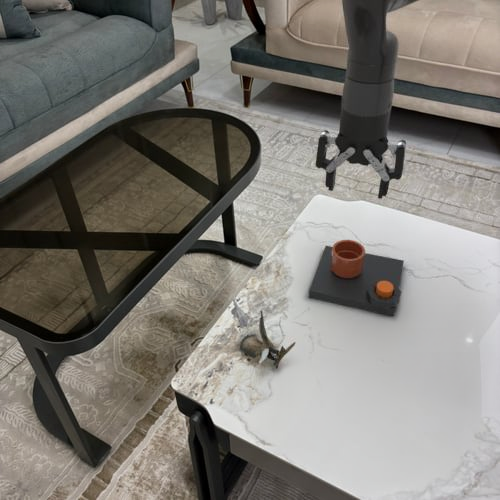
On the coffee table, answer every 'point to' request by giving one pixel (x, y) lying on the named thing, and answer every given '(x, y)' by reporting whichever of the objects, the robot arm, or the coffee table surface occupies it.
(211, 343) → the coffee table surface
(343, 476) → the coffee table surface
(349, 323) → the coffee table surface
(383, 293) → the button
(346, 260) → the brown cup
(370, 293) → the scale
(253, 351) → the eagle figurine
